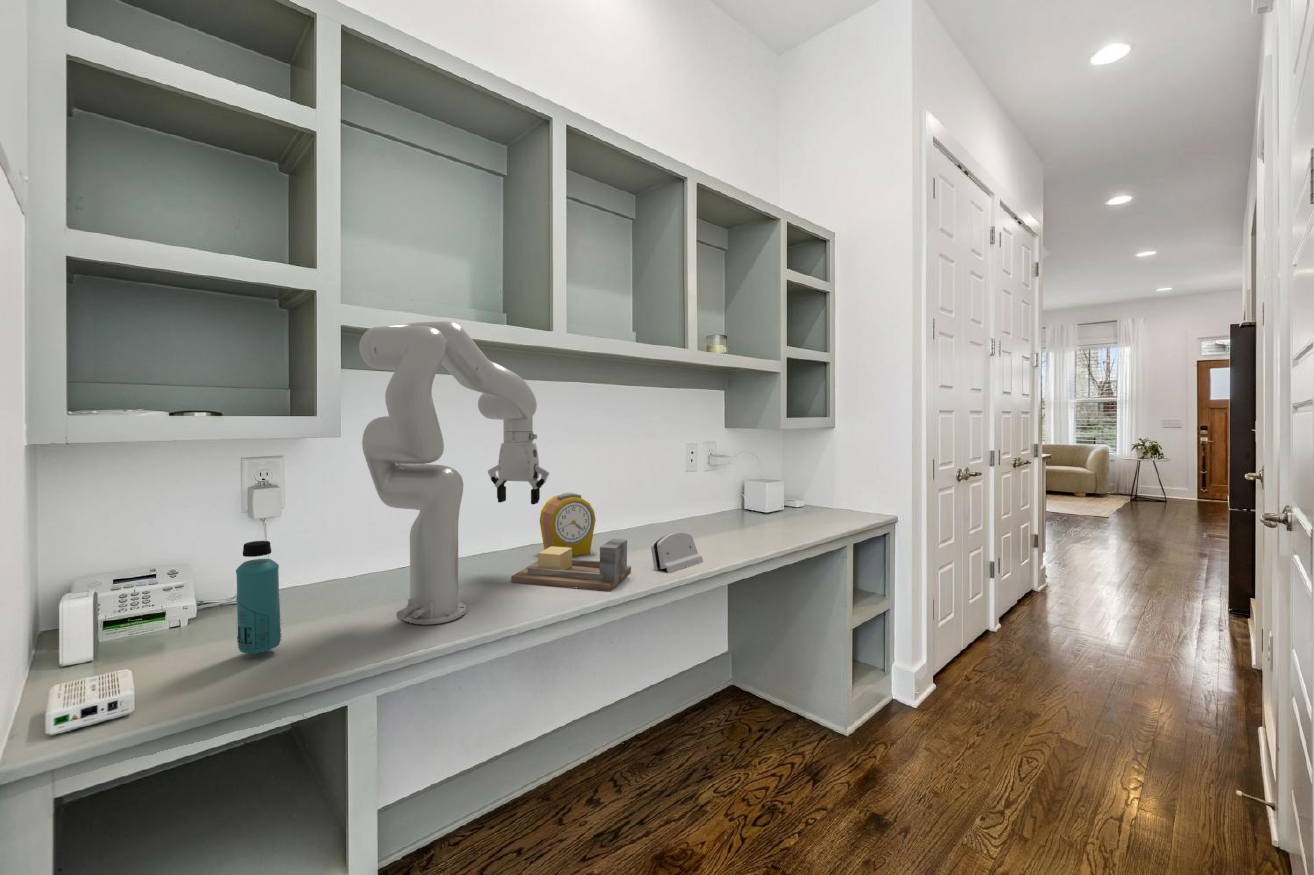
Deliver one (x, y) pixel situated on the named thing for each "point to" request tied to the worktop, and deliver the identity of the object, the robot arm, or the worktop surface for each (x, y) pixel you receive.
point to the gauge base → (583, 570)
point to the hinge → (675, 552)
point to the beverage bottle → (258, 600)
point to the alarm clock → (568, 523)
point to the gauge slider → (555, 558)
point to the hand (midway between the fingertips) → (518, 502)
